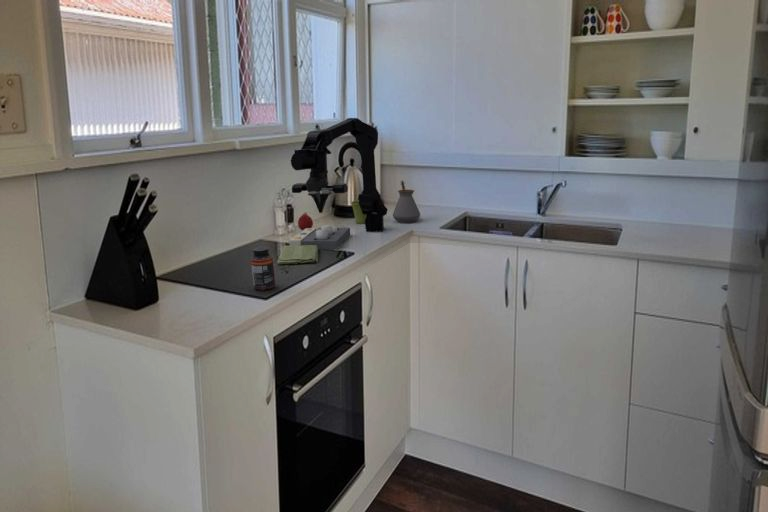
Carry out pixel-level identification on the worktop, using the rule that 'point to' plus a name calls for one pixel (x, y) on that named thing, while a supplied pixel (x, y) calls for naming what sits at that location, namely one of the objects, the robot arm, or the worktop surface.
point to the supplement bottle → (262, 269)
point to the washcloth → (298, 254)
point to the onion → (305, 221)
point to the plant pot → (358, 213)
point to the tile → (301, 237)
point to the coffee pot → (406, 207)
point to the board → (332, 240)
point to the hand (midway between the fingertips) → (320, 212)
